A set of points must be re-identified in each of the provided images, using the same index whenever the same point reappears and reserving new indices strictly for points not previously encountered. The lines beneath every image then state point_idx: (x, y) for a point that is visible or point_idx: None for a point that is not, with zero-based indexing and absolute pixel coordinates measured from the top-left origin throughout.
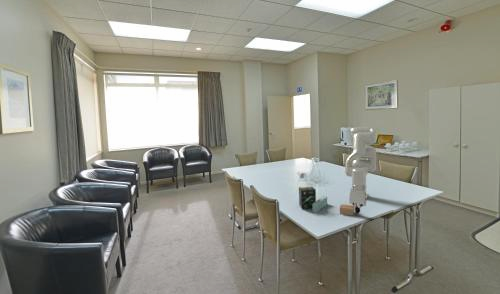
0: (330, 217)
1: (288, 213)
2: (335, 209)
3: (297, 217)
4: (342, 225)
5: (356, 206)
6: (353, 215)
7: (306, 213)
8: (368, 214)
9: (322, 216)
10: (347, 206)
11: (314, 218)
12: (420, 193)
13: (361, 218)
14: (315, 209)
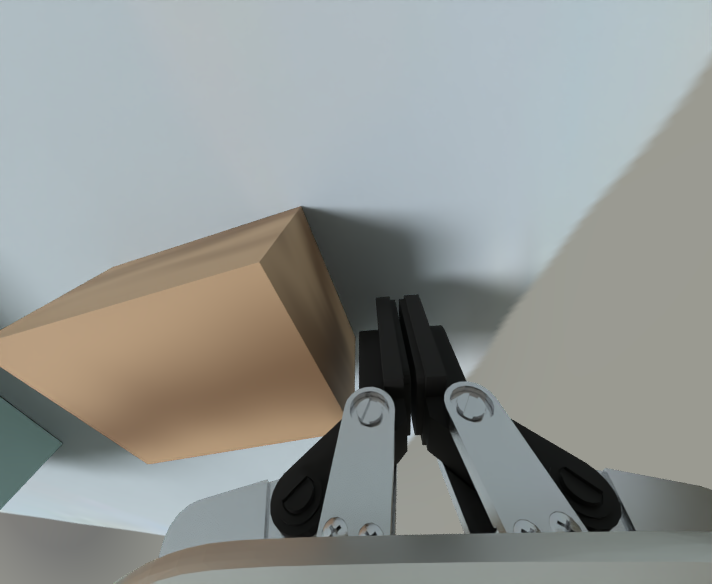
0: (218, 454)
1: (3, 509)
2: (45, 287)
3: (96, 517)
4: None
5: (398, 459)
6: (353, 340)
7: (48, 476)
8: (554, 159)
9: (165, 464)
10: (199, 399)
11: (164, 496)
12: None
13: (459, 354)
14: (21, 477)
